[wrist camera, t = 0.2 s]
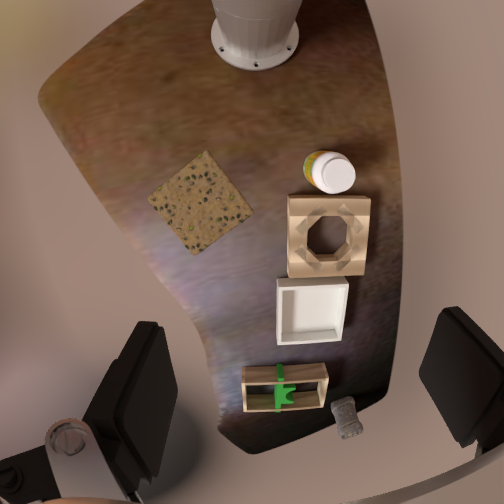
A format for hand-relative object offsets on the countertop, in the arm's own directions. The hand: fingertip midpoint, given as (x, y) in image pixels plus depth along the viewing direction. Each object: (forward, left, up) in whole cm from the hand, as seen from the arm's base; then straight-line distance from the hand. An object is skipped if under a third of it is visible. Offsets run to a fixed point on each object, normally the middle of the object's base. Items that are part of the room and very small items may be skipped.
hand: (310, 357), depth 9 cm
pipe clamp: (+38, +3, -36) cm, 52 cm away
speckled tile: (+2, -10, -36) cm, 38 cm away
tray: (+20, +7, -36) cm, 42 cm away
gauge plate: (+7, +9, -36) cm, 38 cm away
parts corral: (+38, +3, -36) cm, 52 cm away
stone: (+47, +17, -36) cm, 62 cm away
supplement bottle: (-3, +8, -36) cm, 37 cm away
